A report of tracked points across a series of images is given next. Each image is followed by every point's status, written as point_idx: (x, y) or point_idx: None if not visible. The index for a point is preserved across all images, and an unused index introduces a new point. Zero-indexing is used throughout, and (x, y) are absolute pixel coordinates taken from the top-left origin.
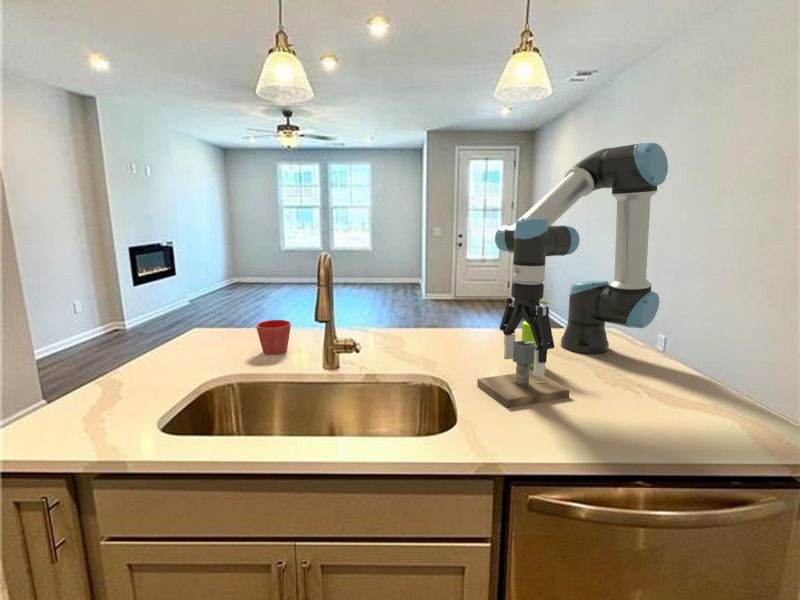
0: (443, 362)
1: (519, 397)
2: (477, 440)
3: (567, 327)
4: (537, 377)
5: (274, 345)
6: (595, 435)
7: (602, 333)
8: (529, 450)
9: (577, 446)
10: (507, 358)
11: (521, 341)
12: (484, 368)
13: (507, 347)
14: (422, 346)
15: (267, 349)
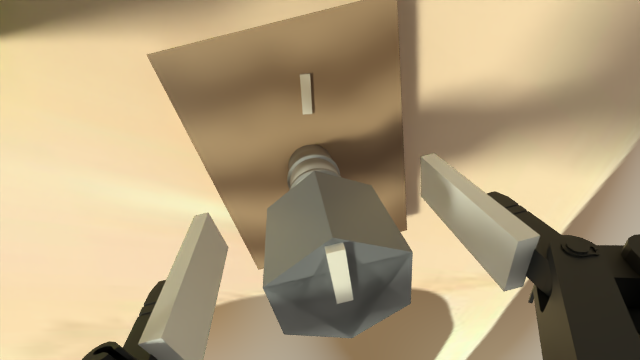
0: (60, 309)
1: (403, 201)
2: (484, 276)
3: None
4: (244, 80)
5: None
6: (599, 67)
7: None
8: (549, 219)
9: (596, 136)
10: (224, 243)
11: (283, 301)
12: (85, 214)
13: (213, 291)
14: None
15: None
